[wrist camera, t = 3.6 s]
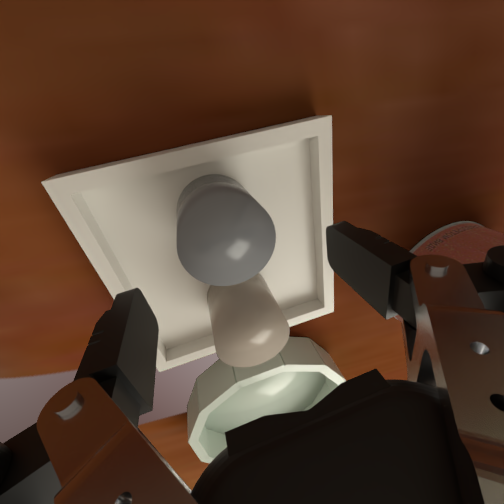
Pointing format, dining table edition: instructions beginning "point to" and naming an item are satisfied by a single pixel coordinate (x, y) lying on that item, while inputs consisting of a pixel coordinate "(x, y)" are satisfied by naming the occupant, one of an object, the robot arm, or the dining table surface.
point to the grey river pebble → (222, 231)
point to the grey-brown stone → (246, 322)
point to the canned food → (459, 243)
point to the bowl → (257, 392)
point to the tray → (165, 225)
